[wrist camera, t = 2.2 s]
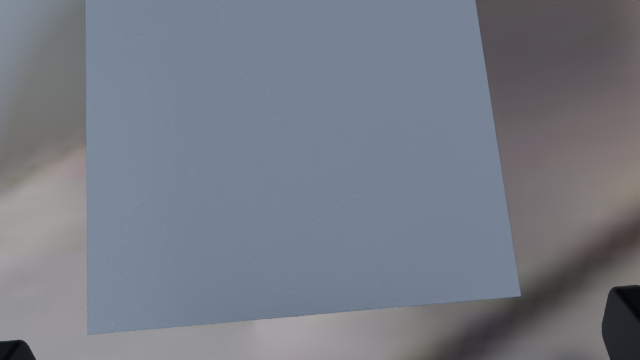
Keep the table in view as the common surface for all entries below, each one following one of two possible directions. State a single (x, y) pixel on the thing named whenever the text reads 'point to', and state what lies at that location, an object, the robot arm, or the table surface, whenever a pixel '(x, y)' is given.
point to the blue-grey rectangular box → (288, 160)
